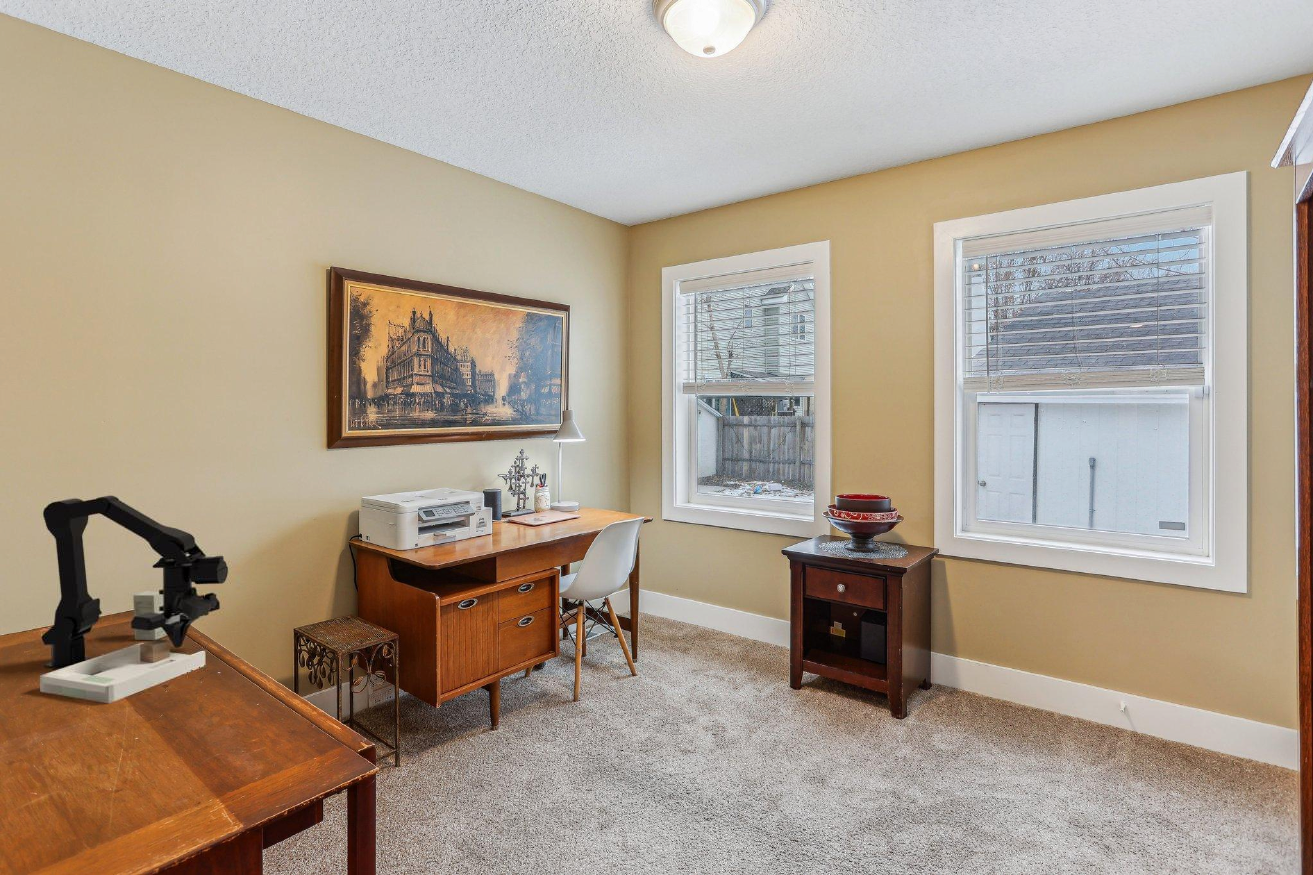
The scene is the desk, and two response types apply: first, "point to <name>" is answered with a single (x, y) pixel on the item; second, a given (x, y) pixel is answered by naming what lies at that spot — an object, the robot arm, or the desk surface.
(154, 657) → the block
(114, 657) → the platform
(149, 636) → the skincare box
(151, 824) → the desk surface
